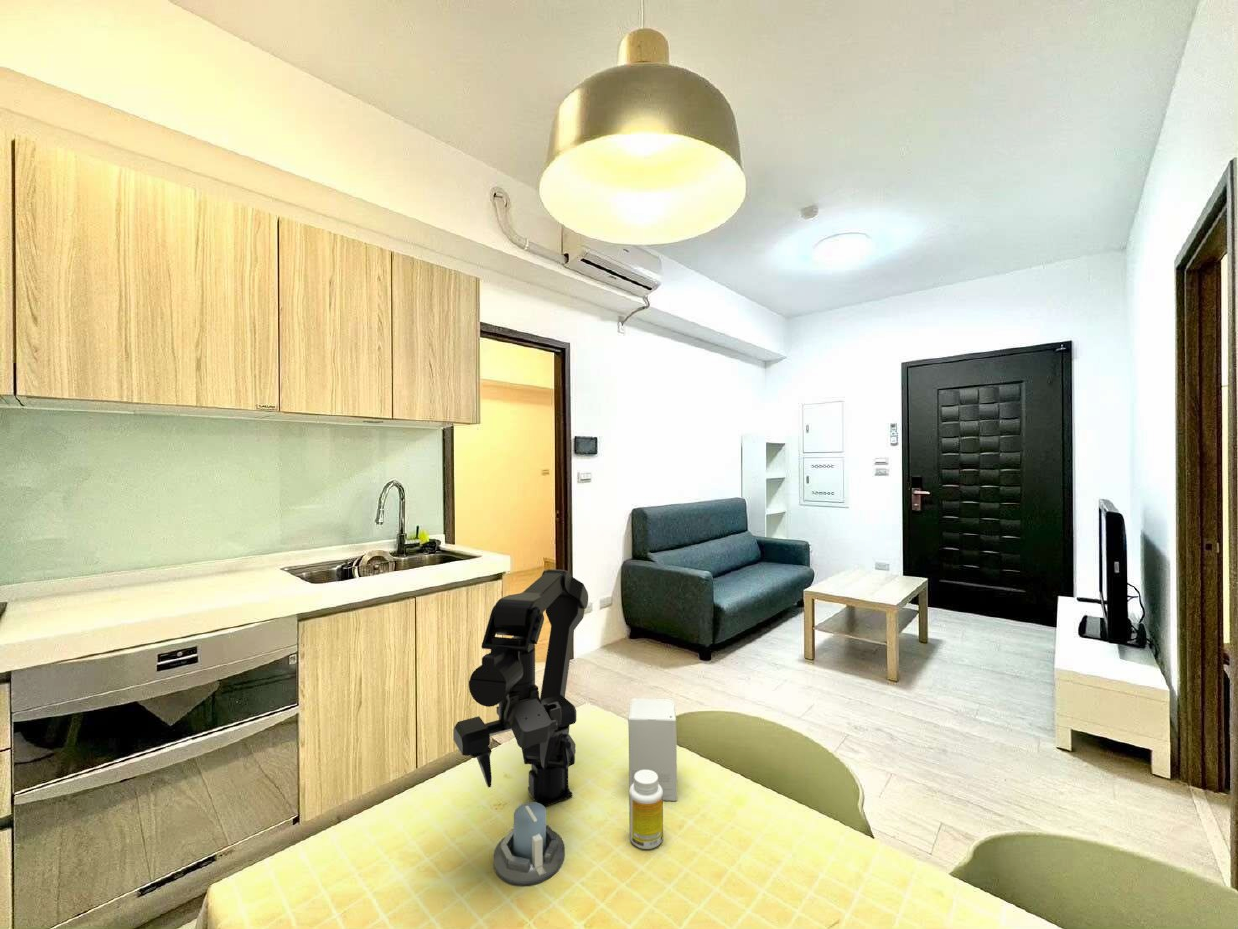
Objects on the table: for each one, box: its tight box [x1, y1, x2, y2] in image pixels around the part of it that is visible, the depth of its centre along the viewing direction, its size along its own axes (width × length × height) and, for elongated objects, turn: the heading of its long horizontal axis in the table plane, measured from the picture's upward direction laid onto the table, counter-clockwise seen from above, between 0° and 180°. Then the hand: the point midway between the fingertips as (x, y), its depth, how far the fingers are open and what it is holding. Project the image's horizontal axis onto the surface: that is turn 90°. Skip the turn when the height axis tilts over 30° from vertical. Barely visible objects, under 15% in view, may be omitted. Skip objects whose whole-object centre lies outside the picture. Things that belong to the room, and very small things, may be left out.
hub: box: [492, 824, 566, 887], centre depth 80 cm, size 11×11×2 cm
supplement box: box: [627, 697, 678, 802], centre depth 98 cm, size 9×9×15 cm
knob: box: [513, 801, 547, 869], centre depth 79 cm, size 6×5×6 cm
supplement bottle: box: [628, 770, 664, 850], centre depth 84 cm, size 6×6×10 cm
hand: (517, 776), depth 81 cm, fingers open, 9 cm apart
